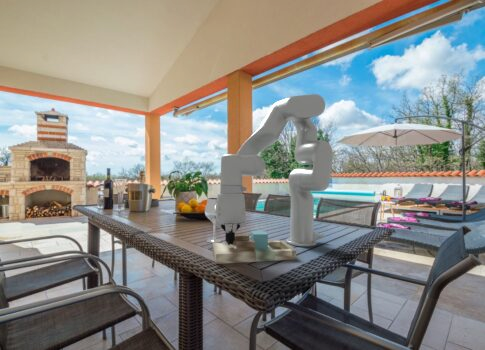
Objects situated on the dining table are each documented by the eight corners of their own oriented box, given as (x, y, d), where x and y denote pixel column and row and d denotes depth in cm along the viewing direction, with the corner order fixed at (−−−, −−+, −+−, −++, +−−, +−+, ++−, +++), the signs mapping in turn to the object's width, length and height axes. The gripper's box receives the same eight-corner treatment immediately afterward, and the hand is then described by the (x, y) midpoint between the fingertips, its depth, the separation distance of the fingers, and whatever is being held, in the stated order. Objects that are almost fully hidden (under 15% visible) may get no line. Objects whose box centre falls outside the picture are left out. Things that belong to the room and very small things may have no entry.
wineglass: (205, 238, 108) (205, 197, 108) (223, 238, 108) (224, 197, 108) (203, 243, 99) (204, 199, 100) (223, 243, 100) (224, 199, 100)
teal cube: (264, 244, 89) (265, 231, 89) (267, 249, 84) (267, 234, 84) (251, 245, 88) (251, 231, 88) (253, 249, 83) (253, 234, 83)
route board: (282, 248, 95) (282, 232, 95) (296, 259, 83) (296, 241, 83) (212, 251, 90) (212, 234, 90) (215, 263, 77) (216, 244, 77)
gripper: (249, 190, 90) (248, 240, 90) (208, 189, 87) (207, 241, 86) (255, 191, 82) (253, 246, 82) (210, 190, 79) (208, 247, 79)
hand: (229, 243), depth 84 cm, fingers closed
